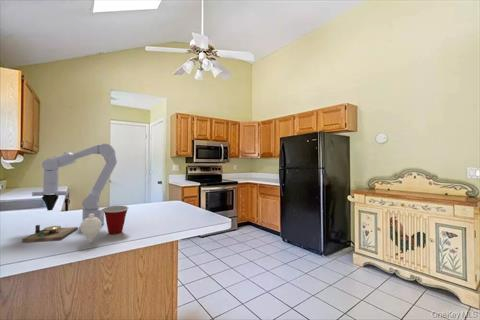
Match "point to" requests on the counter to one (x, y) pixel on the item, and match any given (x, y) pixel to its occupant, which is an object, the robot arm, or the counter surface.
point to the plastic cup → (115, 218)
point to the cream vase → (91, 227)
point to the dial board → (50, 235)
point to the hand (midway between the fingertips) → (50, 210)
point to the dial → (37, 228)
